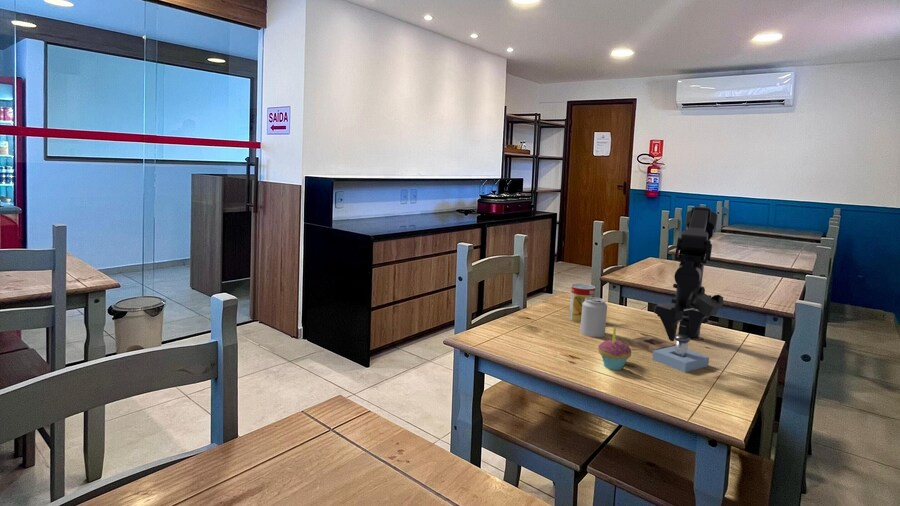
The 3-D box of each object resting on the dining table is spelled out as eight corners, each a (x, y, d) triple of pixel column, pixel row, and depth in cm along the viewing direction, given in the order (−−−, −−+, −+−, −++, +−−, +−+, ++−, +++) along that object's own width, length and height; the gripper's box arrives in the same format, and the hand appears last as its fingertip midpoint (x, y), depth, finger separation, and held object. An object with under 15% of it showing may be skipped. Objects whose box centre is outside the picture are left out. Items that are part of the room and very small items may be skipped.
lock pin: (677, 360, 147) (681, 333, 145) (690, 365, 144) (693, 337, 142) (669, 363, 145) (672, 335, 143) (681, 367, 142) (684, 339, 140)
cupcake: (624, 375, 136) (629, 330, 134) (592, 367, 141) (595, 324, 139) (633, 365, 144) (637, 322, 142) (601, 358, 148) (605, 316, 146)
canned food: (594, 323, 181) (597, 289, 179) (571, 322, 181) (574, 288, 179) (589, 317, 189) (592, 283, 187) (567, 316, 189) (569, 283, 187)
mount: (649, 343, 162) (650, 335, 162) (675, 352, 155) (676, 344, 154) (629, 347, 158) (630, 339, 157) (654, 357, 150) (655, 348, 150)
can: (605, 341, 163) (608, 303, 161) (580, 338, 164) (583, 301, 162) (603, 333, 170) (606, 297, 168) (579, 331, 171) (582, 295, 169)
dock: (675, 357, 151) (676, 345, 150) (707, 369, 143) (709, 357, 142) (651, 362, 146) (653, 350, 145) (684, 376, 137) (685, 363, 137)
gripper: (695, 291, 129) (687, 353, 131) (739, 285, 138) (731, 342, 141) (656, 282, 138) (650, 339, 140) (700, 276, 148) (693, 330, 150)
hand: (682, 338), depth 143 cm, fingers open, 9 cm apart
